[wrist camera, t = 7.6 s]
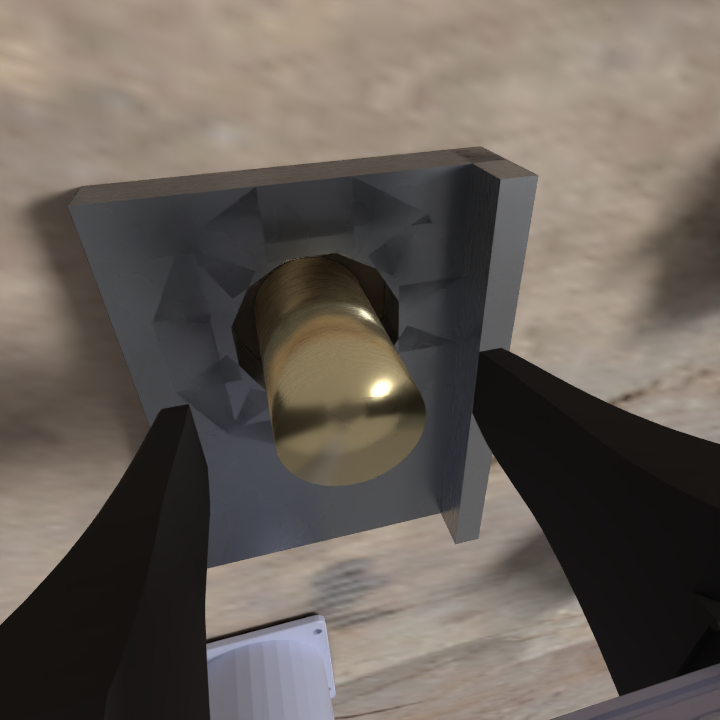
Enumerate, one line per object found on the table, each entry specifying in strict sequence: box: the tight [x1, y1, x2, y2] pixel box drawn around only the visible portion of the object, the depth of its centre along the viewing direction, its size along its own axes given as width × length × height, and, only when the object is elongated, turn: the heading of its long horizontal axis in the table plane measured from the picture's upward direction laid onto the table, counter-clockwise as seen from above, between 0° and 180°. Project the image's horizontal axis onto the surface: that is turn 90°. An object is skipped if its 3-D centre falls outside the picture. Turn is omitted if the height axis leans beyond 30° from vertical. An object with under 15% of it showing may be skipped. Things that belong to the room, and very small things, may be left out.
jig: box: [68, 147, 538, 568], centre depth 17 cm, size 14×11×3 cm
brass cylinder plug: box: [254, 257, 426, 486], centre depth 14 cm, size 4×4×6 cm
